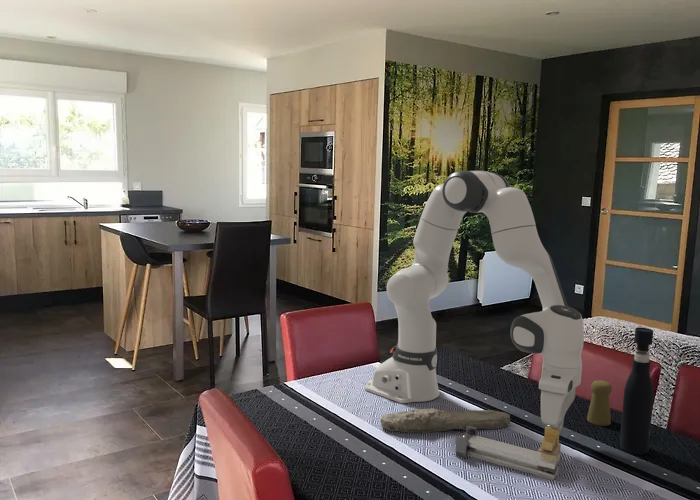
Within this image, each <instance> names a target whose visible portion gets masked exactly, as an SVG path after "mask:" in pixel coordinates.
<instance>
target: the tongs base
mask: <svg viewBox="0 0 700 500" xmlns="http://www.w3.org/2000/svg"><path fill="white" fill-rule="evenodd" d="M467 431H472V432H473V433H474V435H476V436H478V435H477V434H478V429H477V428H475V427H471V426H467V427H466V430H465V433H466V432H467ZM455 438H456V439H455V440H456V442H455V457H459V458H462V459H467V458H468V457H469V458H470V457H471V458H474V459H477V460H482V461H484V462H488V463H491V464H496V465H498V466H502V467H506V468H509V469H513V470H516V471H520V472H523V473H527V474H530V475H533V476H538V477H540V478H545V479H548V480H552V481H554V480H555V479H556V477H557V475H558V473H559V466H558V467H557V469H556V471H555V472H554V473H553V472H549V471H546V470H545V467H542V466H539V465H535V464H531V463H528V462H524V461H520V460H517V459H513V458H509V457H506V456H502V455H498V454H494V453H491V452H487V451H483V450H480V449H476V448H472V447H469V446H467V438H465V437H462V435H456V437H455Z"/></svg>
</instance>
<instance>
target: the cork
mask: <svg viewBox="0 0 700 500" xmlns="http://www.w3.org/2000/svg"><path fill="white" fill-rule="evenodd" d="M590 388H591V390H590V391H591V392H592V393H591V395H592V396H591V398H590V399H591V400H590V402H589V403H590V404H589V408H588V412H587V416H586V420H587V422H589V423H591V424H593V425H597V426H600V427H601V426H604V427H605V426H610V425H611V424H612V419H611V418H612V416H611V405H610V402H611V401H610V395H611V394H612V391H613V388H612V384H611V383H610V382H608V381H605V380H600V379H598V380H593V381H592V383H591V384H590Z"/></svg>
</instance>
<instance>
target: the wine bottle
mask: <svg viewBox="0 0 700 500" xmlns="http://www.w3.org/2000/svg"><path fill="white" fill-rule="evenodd" d="M653 339H654V330H653V329H652V328H648V327H636V328H634V340H633V341H634V343H635V344H636V351H635V352H634V357H633V359H632V364H631V365H632V366H631V372H630V373H629V376H627V377H628V378H627V379H626V382H625V386H624V389H623V398H622V399H623V403H622V411H621V412H622V415H621V424H620V425H621V426H620V437H619V447H620V448H621V450H623V451H624V452H627V453H629V454H633V455H645V454H648V453H649V451H650V450H649V449H650V439H651V429H652V418H653V417H652V416H653V406H654V397H655V393H654V385H653V382H652V378H651V374H650V372H651V371H650V370H651V361H650V360H651V359H650V358H651V356H650V353H649V352H650V351H649V348H650V347H649V346H651V345H653V342H654V341H653Z"/></svg>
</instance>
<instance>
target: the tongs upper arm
mask: <svg viewBox="0 0 700 500" xmlns="http://www.w3.org/2000/svg"><path fill="white" fill-rule="evenodd" d="M461 437H465V438H467V446H469V447H472V448H476V449H480V450H483V451H487V452H491V453H494V454H498V455H502V456H506V457H509V458H513V459H517V460H520V461H524V462H528V463H531V464H535V465H539V466H542V467H545V470H546V471H549V472H553V473H554V472H555V471H556V469H557V467H558V468H559V465H560V464H559V462H560V458H559V457H557V456H553V455H549V454H545V453H541V452H538V450H533V449H529V448H525V447H522V446H518V445H515V444H510V443H507V442H503V441H502V442H501V441H499V440H495V439H491V438H486V437H483V436H480V435H477V436H476V435H474V433H473V432H472V431H467V432H466V431H465V433H464V434H463V435H461Z"/></svg>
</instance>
